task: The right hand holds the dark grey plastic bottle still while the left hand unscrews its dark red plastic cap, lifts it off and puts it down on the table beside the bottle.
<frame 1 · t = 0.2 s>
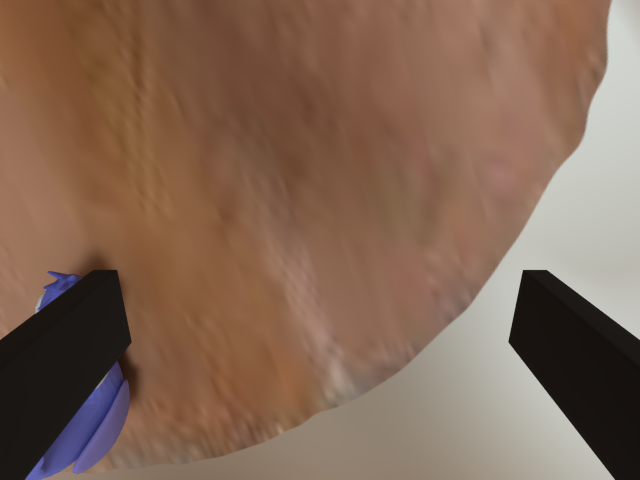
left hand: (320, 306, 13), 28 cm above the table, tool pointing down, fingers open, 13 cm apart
toy: (102, 339, 46), on the table
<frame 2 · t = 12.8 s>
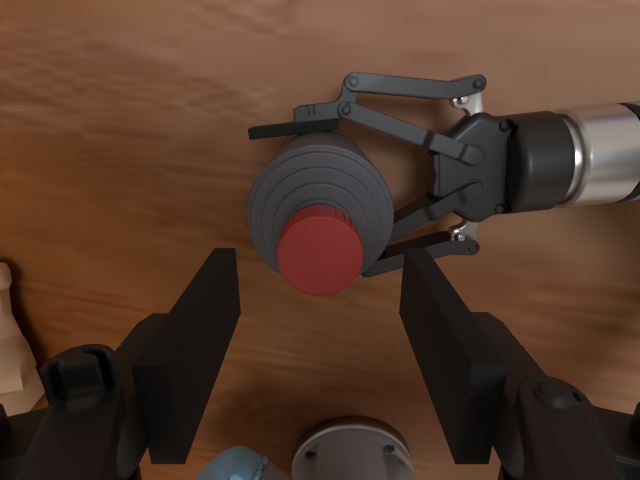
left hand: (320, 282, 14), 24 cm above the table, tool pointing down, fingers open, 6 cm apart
right hand: (261, 191, 30), fingers closed on bottle, 8 cm apart
bottle: (320, 170, 36), on the table, touching right hand
cap: (320, 255, 17), point 21 cm above the table, screwed on, not yet turned
squash: (5, 331, 43), on the table
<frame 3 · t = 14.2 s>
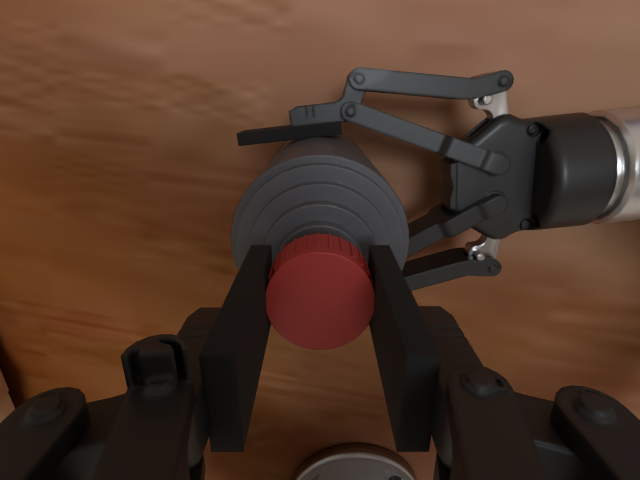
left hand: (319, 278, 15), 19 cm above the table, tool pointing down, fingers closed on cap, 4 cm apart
right hand: (253, 204, 27), fingers closed on bottle, 8 cm apart
bottle: (320, 178, 33), on the table, touching right hand
cap: (320, 299, 13), point 21 cm above the table, screwed on, not yet turned, touching left hand
when the left hand's fingers open (1 cm above the table, at t = 33.4 s): cap drops 2 cm, point 2 cm above the table.
when the right hand's fingers open (7 cm above the table, at t = 34.8 s): bottle stays where it is, on the table.
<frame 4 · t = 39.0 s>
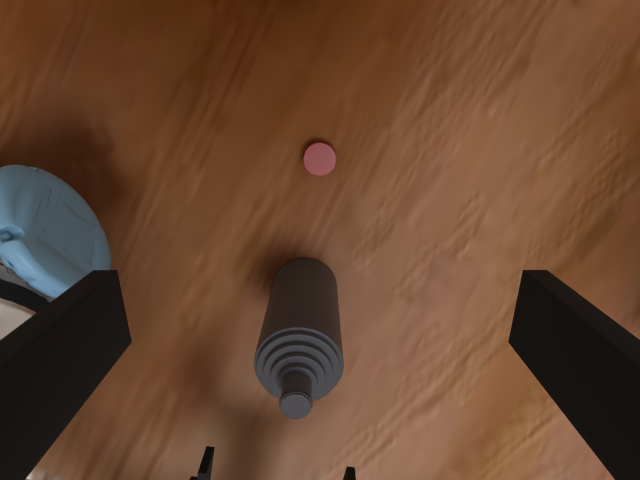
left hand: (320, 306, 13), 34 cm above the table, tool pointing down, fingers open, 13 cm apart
bottle: (305, 287, 50), on the table
cap: (319, 159, 43), point 2 cm above the table, off its thread
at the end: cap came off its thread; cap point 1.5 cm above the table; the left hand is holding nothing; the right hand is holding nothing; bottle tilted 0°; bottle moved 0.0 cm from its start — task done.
